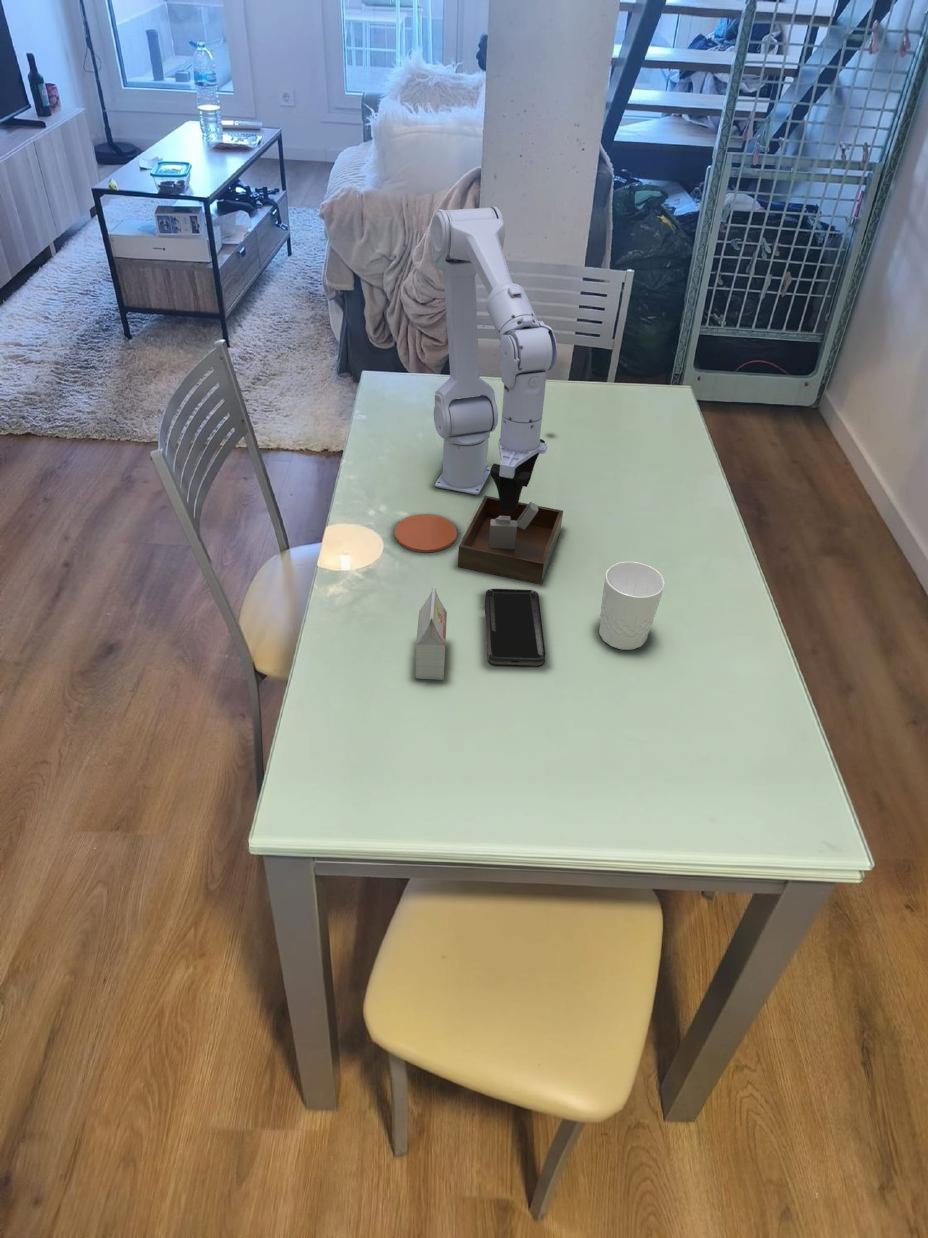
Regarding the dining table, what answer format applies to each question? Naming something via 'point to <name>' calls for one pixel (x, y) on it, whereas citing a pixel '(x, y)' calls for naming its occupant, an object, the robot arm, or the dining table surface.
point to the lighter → (509, 528)
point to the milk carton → (431, 639)
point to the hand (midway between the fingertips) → (514, 496)
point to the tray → (529, 545)
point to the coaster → (425, 533)
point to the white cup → (629, 604)
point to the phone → (514, 627)
